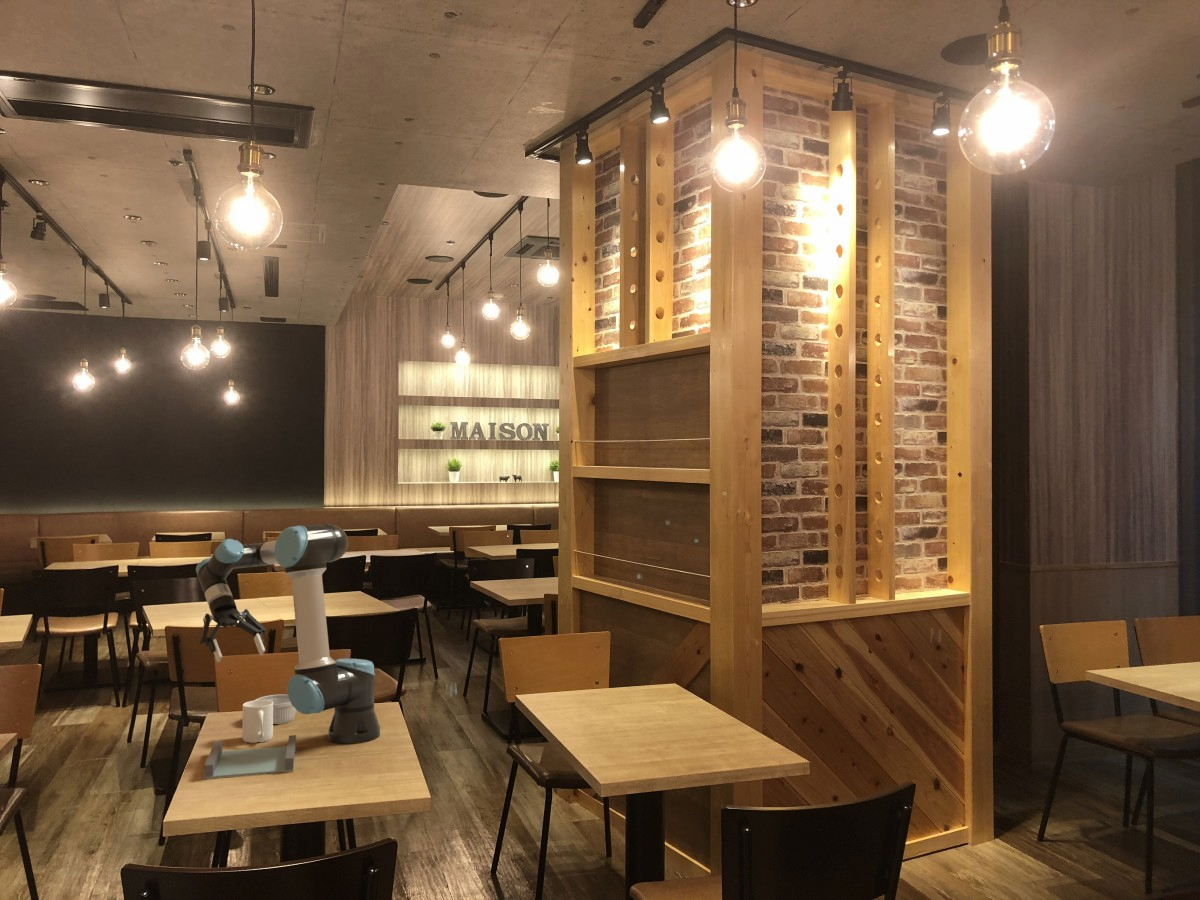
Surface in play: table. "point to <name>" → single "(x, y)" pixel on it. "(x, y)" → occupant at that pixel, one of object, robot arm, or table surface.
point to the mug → (257, 721)
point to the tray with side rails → (250, 760)
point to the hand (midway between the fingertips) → (241, 656)
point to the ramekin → (281, 708)
